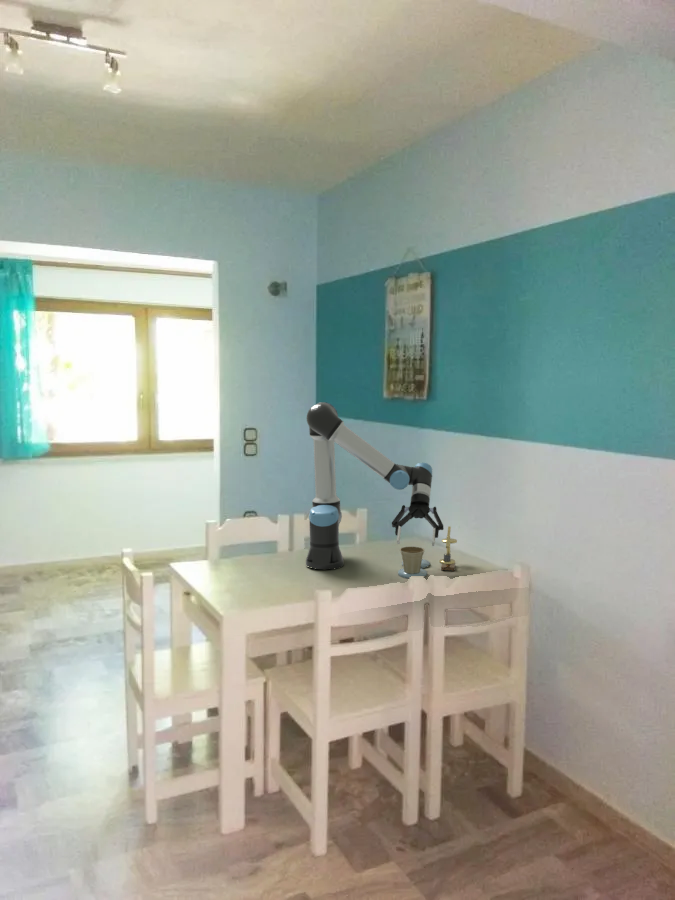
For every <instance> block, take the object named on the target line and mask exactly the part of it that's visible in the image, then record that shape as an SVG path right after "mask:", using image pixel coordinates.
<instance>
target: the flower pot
mask: <svg viewBox="0 0 675 900" xmlns="http://www.w3.org/2000/svg"><path fill="white" fill-rule="evenodd" d="M399 551H400V553H401V557H402V561H403V566H402V567H403V568H404V572H406V573H410V574H414V573H419V572H420V569H422V568H421V562H422V559H423V555H424V553H425V549H424V548H422V547H419V546H402V547H401V548H400V549H399Z"/></svg>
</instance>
